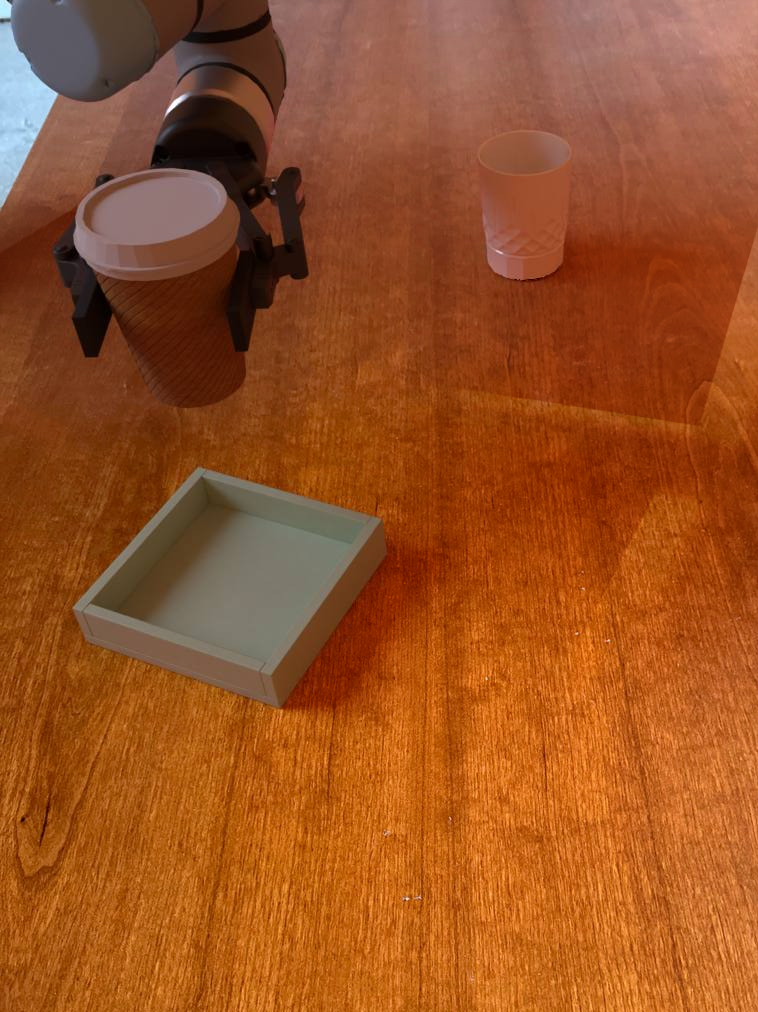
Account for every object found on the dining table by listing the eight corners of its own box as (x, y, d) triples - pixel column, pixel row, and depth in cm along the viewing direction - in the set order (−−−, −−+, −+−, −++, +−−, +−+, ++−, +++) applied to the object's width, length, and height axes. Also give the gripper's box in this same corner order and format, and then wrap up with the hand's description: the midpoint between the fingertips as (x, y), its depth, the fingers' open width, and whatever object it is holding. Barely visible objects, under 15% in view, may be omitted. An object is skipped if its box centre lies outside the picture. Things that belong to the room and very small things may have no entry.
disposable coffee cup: (92, 395, 75) (31, 221, 66) (192, 320, 81) (149, 150, 71) (203, 443, 72) (154, 267, 63) (301, 362, 77) (269, 188, 68)
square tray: (86, 642, 77) (71, 607, 74) (208, 501, 85) (198, 466, 83) (280, 709, 73) (271, 675, 70) (387, 553, 81) (382, 518, 79)
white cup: (470, 278, 103) (464, 169, 96) (495, 232, 108) (492, 125, 101) (557, 290, 102) (558, 180, 94) (579, 243, 107) (582, 134, 99)
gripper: (368, 191, 86) (349, 381, 71) (82, 203, 86) (3, 394, 71) (356, 86, 80) (333, 269, 65) (50, 100, 80) (-43, 284, 65)
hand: (161, 334), depth 68 cm, fingers closed on disposable coffee cup, 8 cm apart
